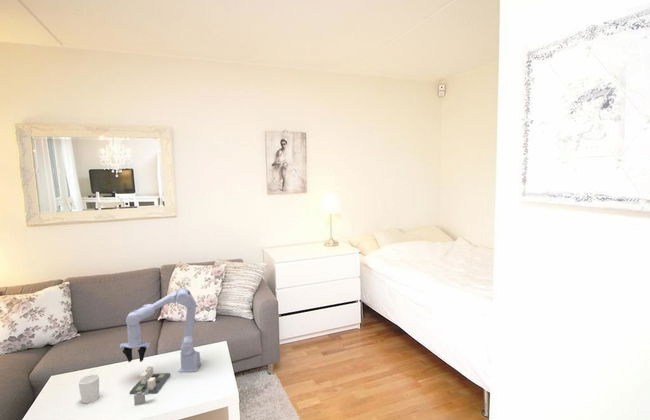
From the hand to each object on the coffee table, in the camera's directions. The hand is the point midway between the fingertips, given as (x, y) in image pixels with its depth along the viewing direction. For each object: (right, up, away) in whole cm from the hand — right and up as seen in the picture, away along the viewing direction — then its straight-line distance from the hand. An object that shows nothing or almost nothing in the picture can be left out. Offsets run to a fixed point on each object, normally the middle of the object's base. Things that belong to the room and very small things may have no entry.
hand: (136, 360), depth 172 cm
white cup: (-13, -12, -14) cm, 23 cm away
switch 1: (+7, -9, -4) cm, 12 cm away
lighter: (+13, -12, -18) cm, 25 cm away
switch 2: (+7, -8, +1) cm, 11 cm away
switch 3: (+13, -9, -9) cm, 18 cm away
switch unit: (+10, -10, -4) cm, 15 cm away
